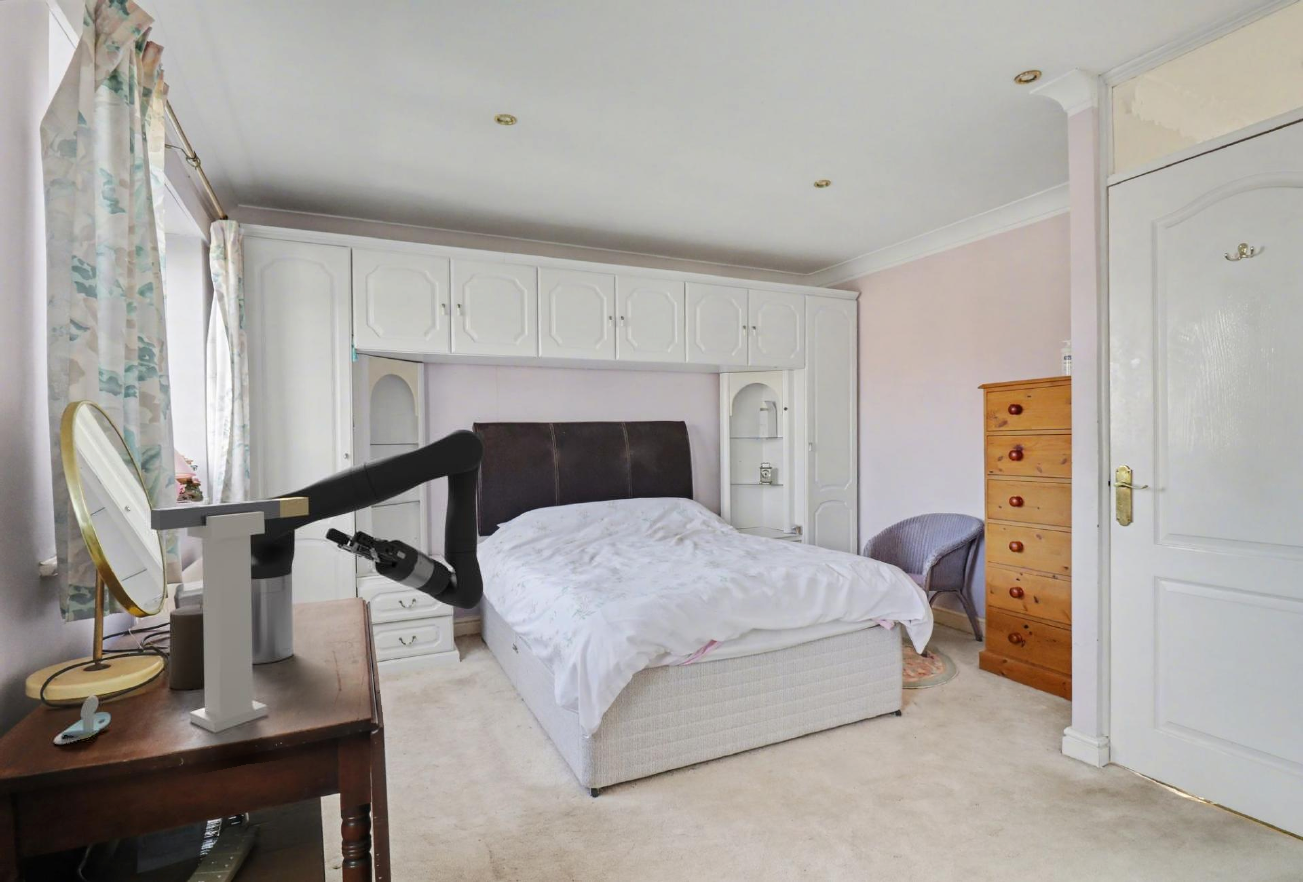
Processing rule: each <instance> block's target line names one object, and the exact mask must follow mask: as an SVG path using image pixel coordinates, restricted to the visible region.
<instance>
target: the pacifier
mask: <svg viewBox="0 0 1303 882" xmlns="http://www.w3.org/2000/svg"><path fill="white" fill-rule="evenodd" d="M98 706H99V699H98V697H97V696H96V695H94V694H91V695H89V696H88V697H87V698H86V699H85V701H84V702H83V704H82V707H81V710H80V718H81V719H80V720H78V721H77V722H75V723H74V724H72V725H71V726H69V727H68V728H67V729H66V730H64V731H62V732H61V733H59V734H57V735H56V736H55V738H54V739H53V743H54V744H56V745H66V743H67V744H71V743H74V741H75V742H78V741H77V740H80V739H84V738H88V737H91V736H92V735H94V734H96V733H97V734H98V732H99V731H100V730H101V729H104V728H105V727H107V726H108V725H109V724H110V722H111V716H112V715H111V714H110V713H109V712H107V711H98V712H96V710H97V708H98ZM97 734H96V735H97ZM64 735H67V736H73V737H69V738H65V737H64ZM94 736H95V735H94ZM63 737H64V738H63ZM62 738H63V739H62ZM91 738H92V737H91ZM88 739H89V738H88ZM70 742H71V743H70Z"/></svg>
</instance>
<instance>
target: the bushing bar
mask: <svg viewBox="0 0 1303 882" xmlns="http://www.w3.org/2000/svg"><path fill="white" fill-rule="evenodd" d="M257 500H258V499H257ZM258 511H260V512H264V519H272V518H281V517H291V516H300V515H308V498H304V497H294V498H282V499H270V500H258V501H254V500H247V501H235V502H224V503H214V504H213V503H212V504H201V505H188V506H187V505H186V506H177V507H176V506H175V507H166V508H165V507H161V508H153V509H152V508H151V509H150V530H154V531H155V530H156V531H165V530H177V529H187V527H197V526H206V516H216V515H227V514H237V513H248V512H258Z"/></svg>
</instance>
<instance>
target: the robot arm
mask: <svg viewBox="0 0 1303 882" xmlns="http://www.w3.org/2000/svg"><path fill="white" fill-rule="evenodd" d="M484 446H485V445H484V442H483V440H482V438H481V437H480V436H479V435H478V434H477V433H475V432H474V431H472V430H468V429H456V430H455V431H452V432H450V433H449V434H447V435H445V436H444V437H442V438H439V439H436V440H434V441H432V442H430V443H428V444H426V445H424V446H421V447H419V448H417V449H412V450H410V451H406V452H401V453H400V452H399V453H395V454H394V453H393V454H389V455H386V456H382V457H378V458H374V459H371V460H367V461H365V462H364V461H363V462H361V463H359V464H356V465H353V466H350V467H347V468H345V469H343V470H340V471H337V472H335V473H334V474H331V475H329V476H326V477H324V478H322V479H319V480H318V481H316V482H314V483H311V484H309V485H307V486H305V487H303V488H299V489H297V490H293V491H290V492H287V493H283V494H280V495H276V496H267V497H263V498H258V499H254V500H253V501H258V500H270V499H282V498H294V497H304V498H308V515H300V516H291V517H281V518H272V519H264V531H265V533H262V534H254V535H250V545H251V613H252V665H254V664H255V665H256V664H258V665H259V664H267V663H273V662H277V661H281V660H284V659H288V658H290V657H291V656H292V655H293V654H294V624H293V623H294V622H293V621H294V620H293V619H294V617H293V615H294V614H293V612H294V611H293V608H294V607H293V573H292V572H293V561H294V558H295V549H296V547H295V546H296V543H295V541H296V530H297V529H300V528H302V527H305V526H307V525H309V524H313V523H315V522H319V521H321V520H325V519H330V518H334V517H338V516H342V515H347V514H350V513H353V512H357V511H360V510H362V509H366V508H369V507H372V506H374V505H378V504H380V503H382V502H385V501H387V500H390V499H392V498H396V497H398V496H399V495H401V494H404V493H406V492H409V491H410V490H412V489H414V488H417V487H418V486H419V485H422V484H424V483H428V482H431V481H433V480H437V479H440V478H444V477H447V502H446V503H447V505H446V512H445V513H446V515H445V522H444V523H445V524H444V553H443V554H444V555H443V556H444V561H445V563H447V564H448V565H450V566H451V567H452V569H453V570H454V572H453V571H451V570H449V568H448V567H447V565H445V564H443V563H442V562H440V561H438V560H436V559H434V558H432V557H430V556H429V555H427V554H426V553H424V552H423V551H422V550H419V549H417V548H416V547H414V546H412V545H410V544H407V543H406V542H403V541H402V540H400V539H392V540H390V541H389V540H388V539H381V538H379V537H373V536H371V535H369V534H367V533H366V532H363V531H362V530H356V531H355V532H354V535H353V536H352V535H351V534H348V533H345V532H342V531H340V530H338V529H337V528H334V527H330V528H329V529H328V530H327V532H326V535H325V539H326V540H328V541H331V542H333V543H335V544H337V545H336V547H337V548H338V549H341V550H343V551H346V552H348V553H350V554H353V555H355V556H357V557H358V558H363V559H365V560H366V561H370V562H374V566H375V571H376V572H377V574H379V575H380V576H383V577H385V578H387V579H390V580H391V581H393V582H397V584H398V583H399V585H400V584H401V585H403V586H405V587H408V588H409V587H410V588H413V589H415V590H416V591H419V592H422V593H423V594H424V593H425V594H427V595H428V596H430V597H431V598H433V599H434V600H436V601H438V602H440V603H442V604H444V605H448V606H452V607H456V608H459V609H464V610H471V609H473V608H476V606H477V605H478V604H479V603H480V602H481V601H482V597H483V594H484V581H483V576H482V571H481V567H480V562H479V560H478V555H477V552H478V550H477V549H478V518H477V517H478V516H477V514H478V513H477V487H478V485H477V484H478V477H479V471H480V465H481V462H482V460H483V459H484V455H485V447H484ZM348 544H349V545H348Z"/></svg>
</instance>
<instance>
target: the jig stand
mask: <svg viewBox="0 0 1303 882" xmlns="http://www.w3.org/2000/svg"><path fill="white" fill-rule="evenodd" d="M186 529H187V531H186V532H187V537H193V538H199V539H201V540H202V541H201V543H202V544H201V545H202V553H201V554H202V603H203V622H204V688H203V689H204V707H202V708H199V709H196V710H192V711H190V712H189V713H190V714H189V715H190V716H189V718H190V719H189V722H191V723H193V724H195V725H196V726H199V727H201V728H203V729H206V730H208V731H210V732H213V733H218V732H221V731H224V730H227V729H229V728H233V727H235V726H238V725H241V724H244V723H246V722H249V721H253V720H256V719H258V718H261V717H264V716H267V715H268V705H266V704H264V703H261V702H259V701H256V700H254V698H253V697H254V696H253V694H254V693H253V692H254V691H253V690H254V689H253V687H254V686H253V685H254V683H253V681H254V680H253V664H252V613H251V545H250V535H254V534H262V533H265V531H264V512H260V511H258V512H248V513H237V514H227V515H216V516H206V526H197V527H187V528H186Z"/></svg>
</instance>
